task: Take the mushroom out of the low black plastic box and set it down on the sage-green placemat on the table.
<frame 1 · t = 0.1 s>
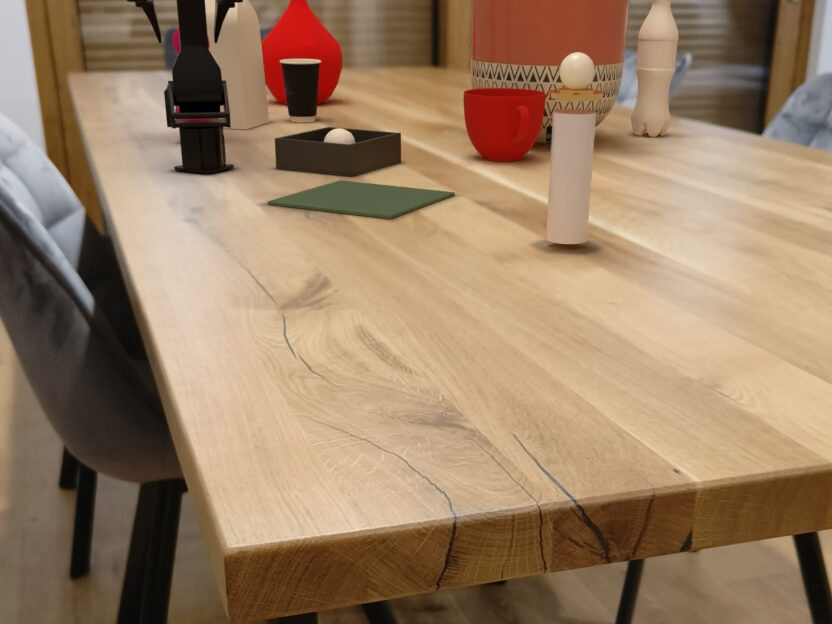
hand: (188, 42, 188), 15 cm above the table, tool pointing down, fingers open, 9 cm apart
water bottle: (649, 136, 206), on the table
planter: (542, 142, 197), on the table
pepper mill: (199, 143, 190), on the table
dixie cup: (302, 121, 218), on the table
milk: (228, 125, 212), on the table
placemat: (363, 199, 146), on the table
ceramic cup: (506, 161, 177), on the table
perfume bottle: (566, 248, 123), on the table
mushroom: (339, 164, 170), resting in black box
vase: (302, 103, 245), on the table
black box: (339, 165, 170), on the table
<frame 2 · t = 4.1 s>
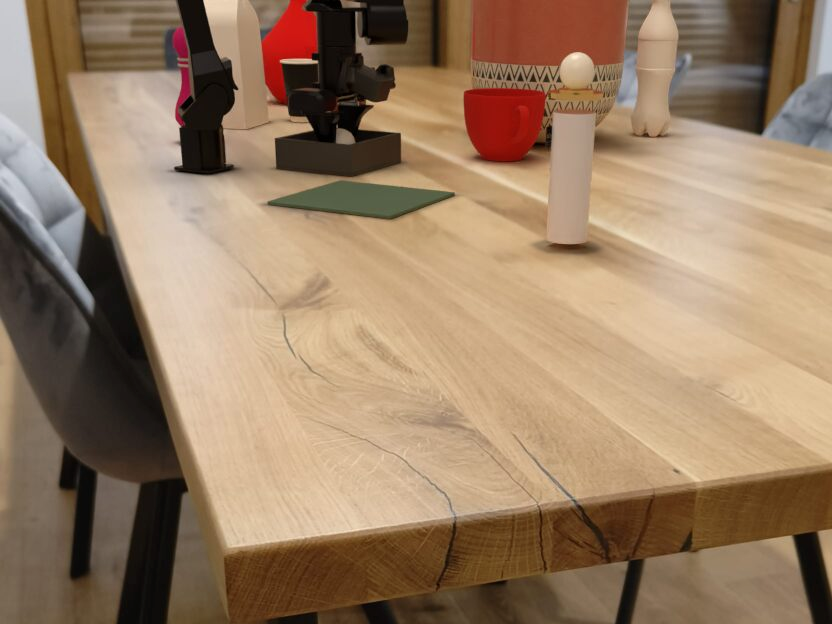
hand: (339, 155, 170), 1 cm above the table, tool pointing down, fingers closed on mushroom, 5 cm apart
mushroom: (339, 164, 170), resting in black box, touching gripper
everything else where it was.
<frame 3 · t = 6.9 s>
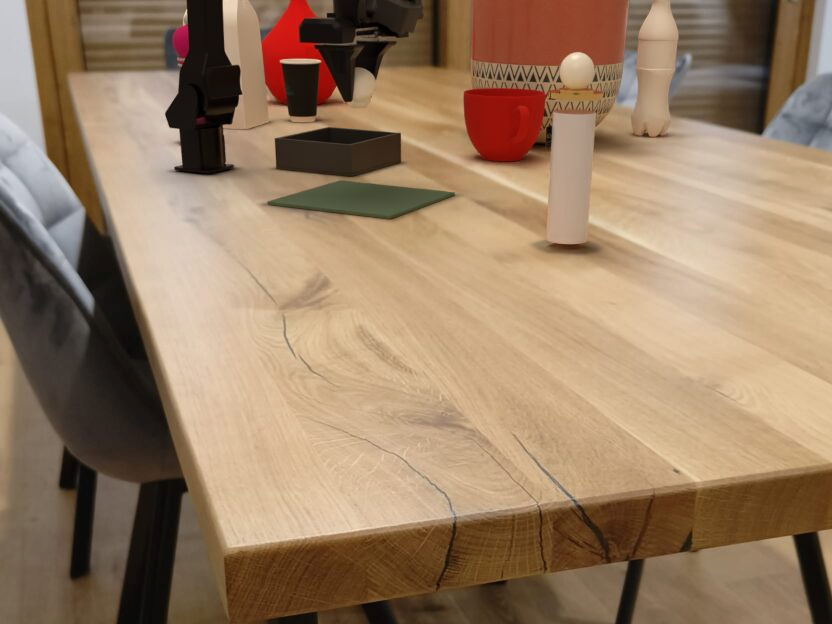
hand: (357, 100, 146), 12 cm above the table, tool pointing down, fingers closed on mushroom, 5 cm apart
mushroom: (358, 109, 147), point 11 cm above the table, touching gripper
everything else where it was.
when the fingers open (1 cm above the table, at t = 10.1 s): mushroom stays where it is, resting on placemat.
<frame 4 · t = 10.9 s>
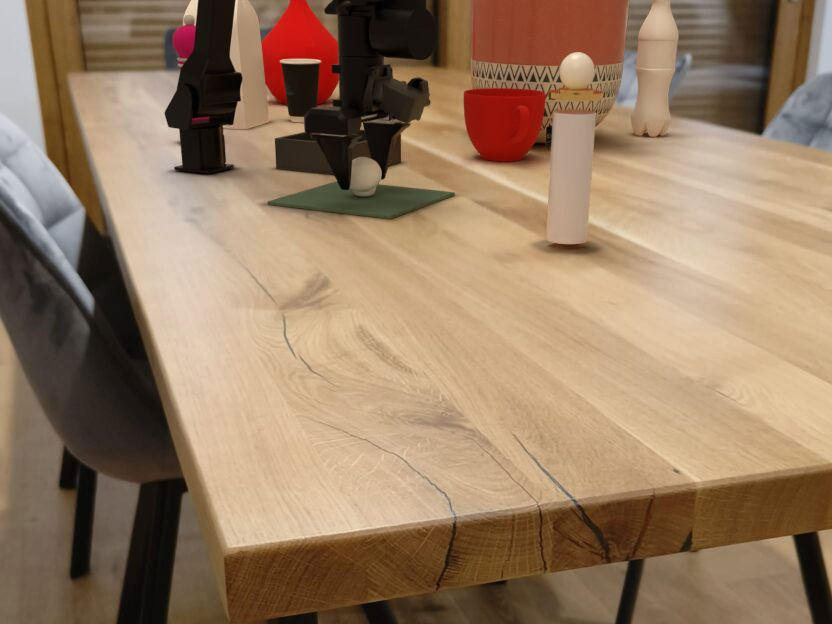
hand: (363, 184, 145), 2 cm above the table, tool pointing down, fingers open, 9 cm apart
mushroom: (363, 198, 146), resting on placemat
everything else where it was.
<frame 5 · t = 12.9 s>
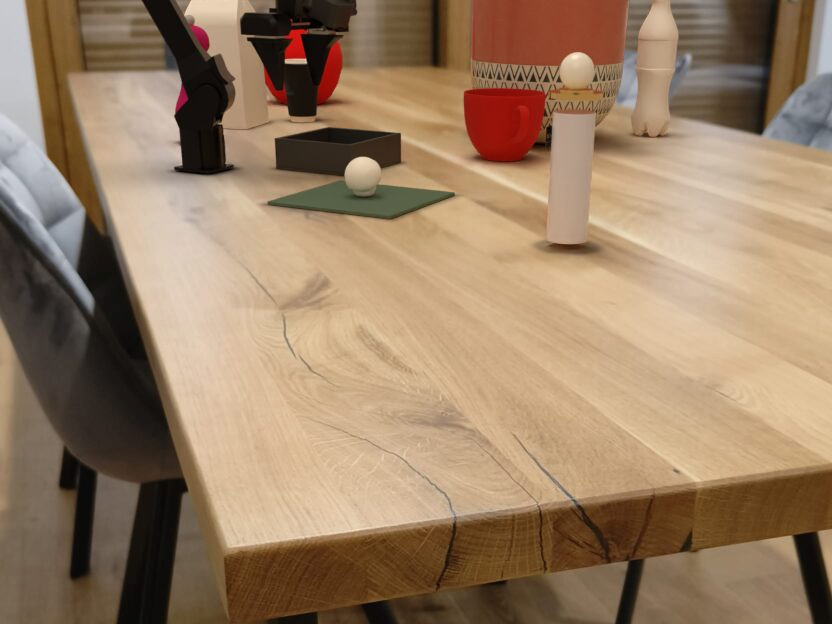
hand: (298, 88, 160), 12 cm above the table, tool pointing down, fingers open, 9 cm apart
nothing on the table moved.
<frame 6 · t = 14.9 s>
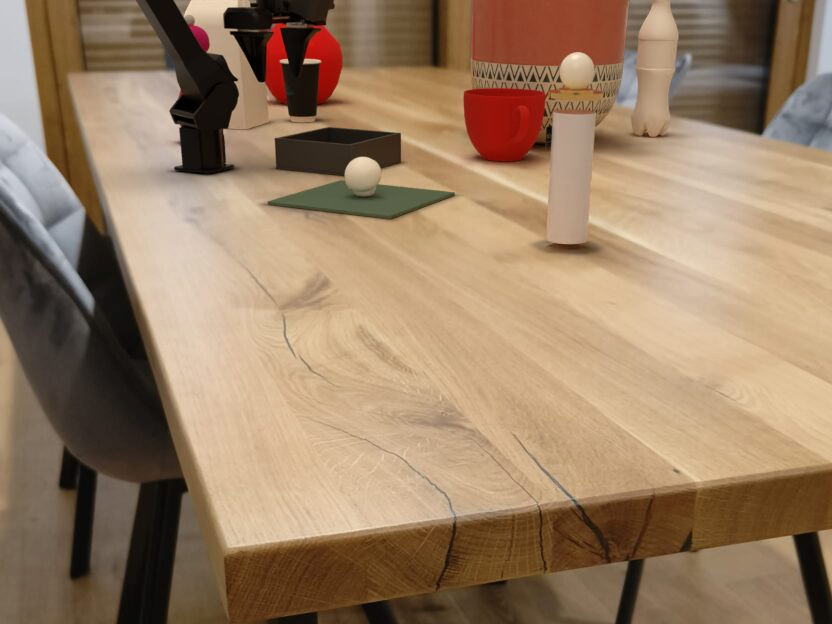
hand: (279, 79, 167), 12 cm above the table, tool pointing down, fingers open, 9 cm apart
nothing on the table moved.
at the end: mushroom inside the target area on the placemat (0.1 cm from its centre), point 0.2 cm above the placemat's base; the gripper is holding nothing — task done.
